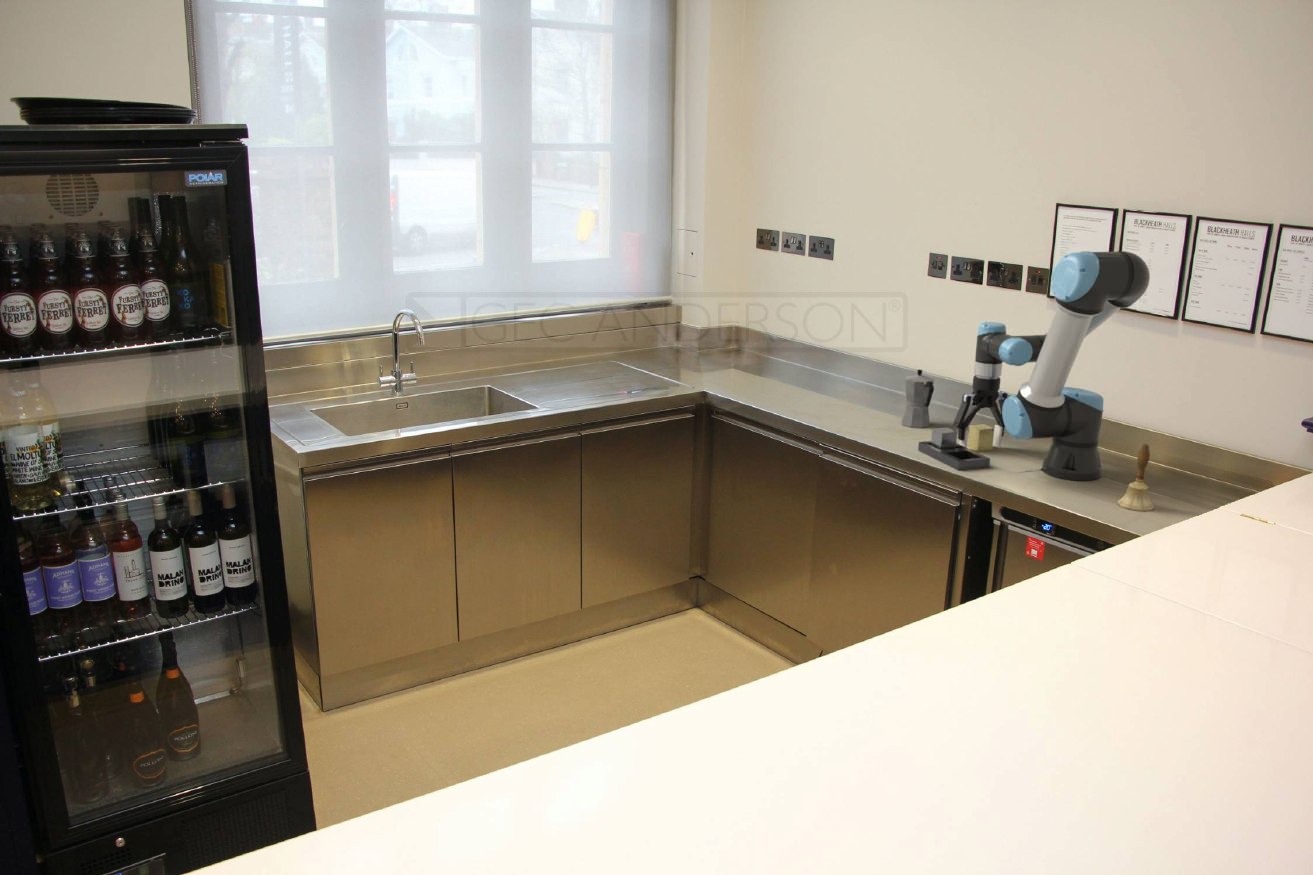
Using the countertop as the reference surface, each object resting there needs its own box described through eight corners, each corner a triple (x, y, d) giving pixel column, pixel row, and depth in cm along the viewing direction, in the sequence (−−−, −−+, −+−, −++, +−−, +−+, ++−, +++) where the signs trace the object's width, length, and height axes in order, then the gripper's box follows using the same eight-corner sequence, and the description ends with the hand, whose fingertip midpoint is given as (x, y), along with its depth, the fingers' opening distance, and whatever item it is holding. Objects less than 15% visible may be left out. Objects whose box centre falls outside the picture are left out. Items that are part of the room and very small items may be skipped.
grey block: (955, 455, 291) (957, 431, 289) (940, 456, 289) (942, 433, 287) (945, 450, 295) (947, 427, 293) (930, 451, 294) (932, 428, 292)
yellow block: (992, 451, 297) (994, 428, 295) (977, 452, 295) (979, 429, 293) (981, 446, 301) (984, 424, 300) (967, 448, 300) (969, 425, 298)
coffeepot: (892, 420, 330) (896, 366, 325) (918, 418, 332) (923, 364, 327) (915, 432, 316) (919, 376, 311) (942, 431, 318) (947, 374, 313)
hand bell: (1151, 502, 255) (1160, 441, 251) (1155, 513, 247) (1165, 450, 243) (1115, 498, 258) (1124, 438, 253) (1118, 509, 250) (1127, 447, 246)
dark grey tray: (989, 469, 280) (990, 458, 279) (957, 472, 277) (959, 461, 276) (947, 449, 298) (948, 439, 298) (917, 451, 295) (918, 442, 295)
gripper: (1013, 371, 299) (1005, 442, 305) (944, 375, 292) (937, 448, 298) (1029, 376, 292) (1021, 449, 299) (959, 381, 285) (952, 455, 291)
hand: (979, 448), depth 298 cm, fingers open, 11 cm apart
